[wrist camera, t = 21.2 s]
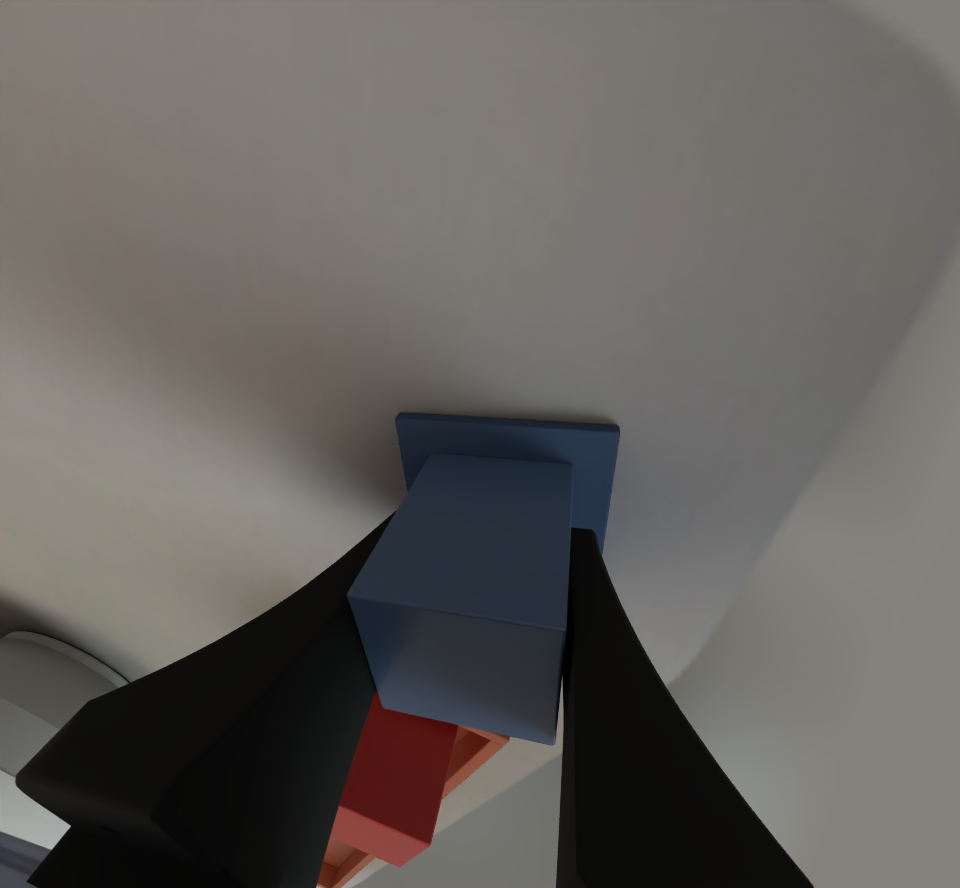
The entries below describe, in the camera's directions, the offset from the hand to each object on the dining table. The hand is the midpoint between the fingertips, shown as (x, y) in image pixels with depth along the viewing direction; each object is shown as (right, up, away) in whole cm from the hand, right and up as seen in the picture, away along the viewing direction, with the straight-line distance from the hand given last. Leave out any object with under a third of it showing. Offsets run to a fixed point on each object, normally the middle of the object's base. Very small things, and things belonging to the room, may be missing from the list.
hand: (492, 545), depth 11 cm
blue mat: (0, +1, +1) cm, 2 cm away
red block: (-3, -9, +8) cm, 12 cm away
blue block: (0, +1, +1) cm, 1 cm away
